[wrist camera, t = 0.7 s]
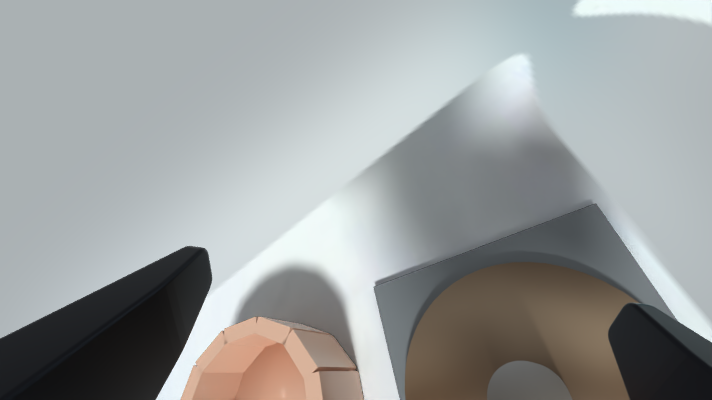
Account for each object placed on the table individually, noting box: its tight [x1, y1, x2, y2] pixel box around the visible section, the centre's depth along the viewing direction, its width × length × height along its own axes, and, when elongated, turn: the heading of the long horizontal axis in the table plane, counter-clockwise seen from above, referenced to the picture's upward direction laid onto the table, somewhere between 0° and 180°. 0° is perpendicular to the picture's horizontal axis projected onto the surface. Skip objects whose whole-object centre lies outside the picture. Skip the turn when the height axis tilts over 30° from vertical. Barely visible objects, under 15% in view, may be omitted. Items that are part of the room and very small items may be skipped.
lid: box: [405, 262, 639, 400], centre depth 15 cm, size 13×13×5 cm
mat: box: [374, 204, 677, 400], centre depth 17 cm, size 16×14×1 cm
